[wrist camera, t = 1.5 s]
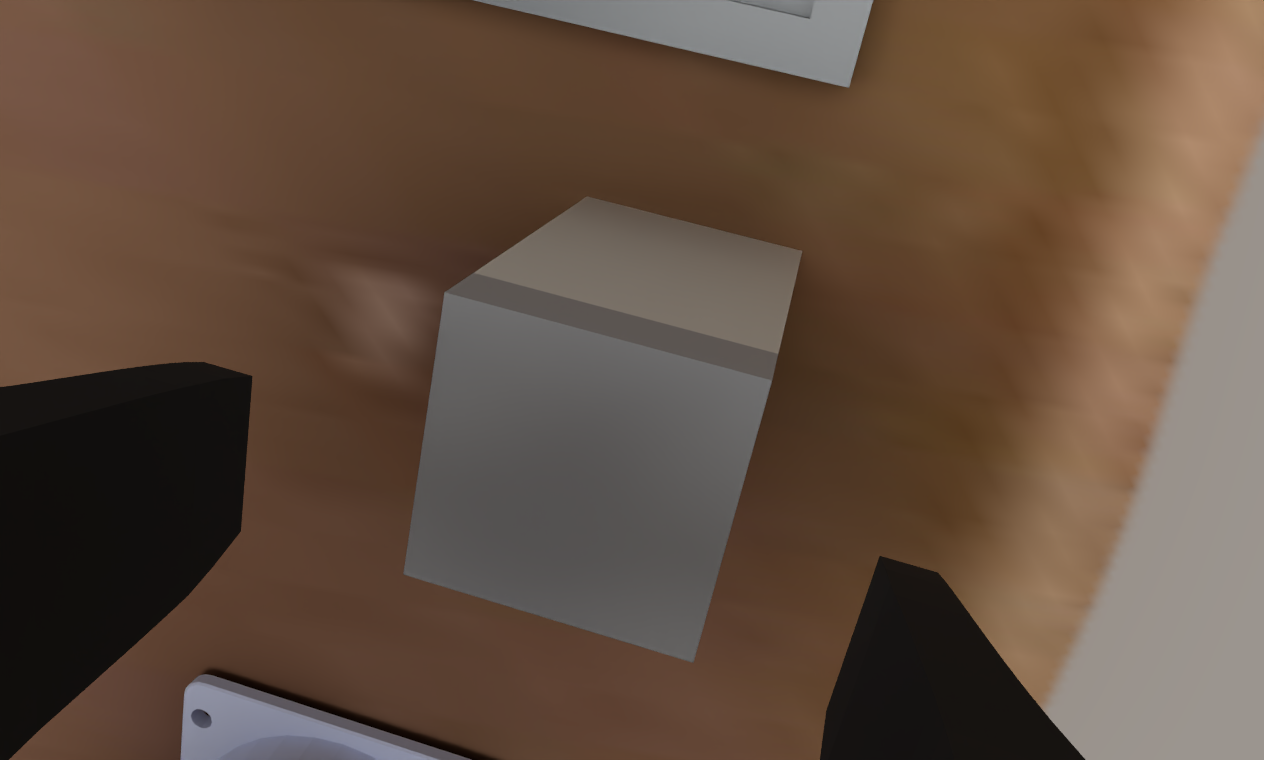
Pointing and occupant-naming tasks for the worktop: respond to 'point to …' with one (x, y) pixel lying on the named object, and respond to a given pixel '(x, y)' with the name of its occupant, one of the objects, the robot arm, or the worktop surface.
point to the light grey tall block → (599, 420)
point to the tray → (731, 29)
